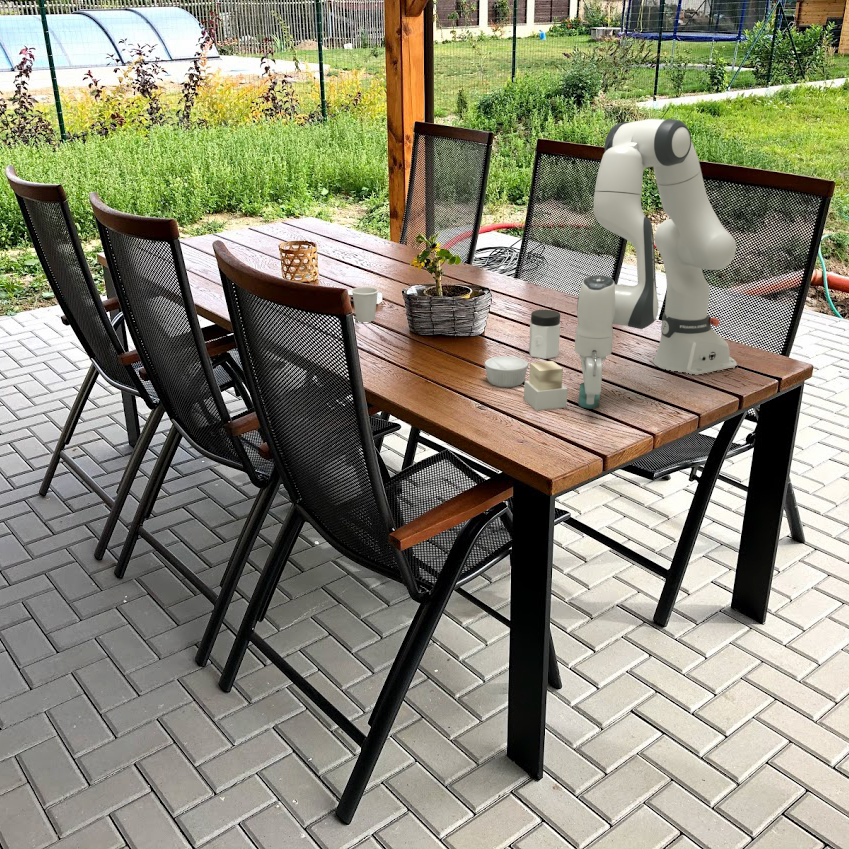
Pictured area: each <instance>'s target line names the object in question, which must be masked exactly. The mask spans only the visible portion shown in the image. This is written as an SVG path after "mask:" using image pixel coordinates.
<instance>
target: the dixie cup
mask: <svg viewBox="0 0 849 849" xmlns="http://www.w3.org/2000/svg"><path fill="white" fill-rule="evenodd" d="M351 293H352V298H353V306H354V313H355V320H356V319H357V320H356V322H357V321H359V322H371V321H374V320H375V321H376V310H377V302H378V301H377V300H378V293H379V289H377V288H376V287H371V286H361V287H358V286H357V287H355V288H352V289H351ZM375 321H374V322H375Z"/></svg>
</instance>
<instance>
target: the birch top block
mask: <svg viewBox="0 0 849 849" xmlns="http://www.w3.org/2000/svg"><path fill="white" fill-rule="evenodd" d="M563 371H564V368H563V367H561V366H560V365H559V364H557V363H556V362H555V361H554V360H548V361H539V362H530V363H529V375H528V376H529V377H528V378H529V379H528V380H529V383H531V384H532V385H533V386H534V387H535V388H536V389H538V390H539V391H540V390H549V389H558V388H562V384H563V375H564V374H563V373H564V372H563Z"/></svg>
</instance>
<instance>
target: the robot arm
mask: <svg viewBox="0 0 849 849" xmlns="http://www.w3.org/2000/svg"><path fill="white" fill-rule="evenodd" d="M651 167H653V171H654V172H653V173H654V176H655V182H656V185H657V186H656V187H657V191H658V194H659V198H660V203H661V207H662V209H663V212H664V213H665V214H666V215H667V216H668V217H669V218H668V219H665V220H664V221H662V222H661V223H660V224H659V225H658V227H657V229H656V231H655V233H654V228H653V225H652V221H651V219H650V218H648V217H647V216H645V213H644V210H643V207H642V193H643V184H644V183H643V182H644V180H643V177H644V176H643V174H644V171H645V169H646V168H651ZM593 193H594V194H593V215H594V217H595V219H596V221H597V222H598V224H600V226H602V227H603V228H604V229H605V230H608V231H609V232H611V233H613V234H615V235H617V236H619V237H621V238H623V239H624V240H626V241H628V242H629V243H630V244H631V245H632V246H633V247H634V250H635V252H636V270H637V284H636V285H625V284H616V283H615V281H614V279H613V278H611V277H610V276H607V275H603V274H602V275H601V274H599V275H598V274H595V275H590V276H587V277H586V278H584V279H583V280H582V282H581V285H580V286H581V287H580V290H579V293H578V297H577V304H576V306H577V307H576V316H577V317H576V318H577V325H576V326H577V327H576V329H575V340H574V352H575V353H576V354H578V356H579V359H580V360H581V361H580V362H581V369H582V370H581V371H582V377H583V383H584V387H585V393H586V394H587V397H586V403H587V404H594V397H595V395H598V394H600V395H601V392H602V383H603V382H602V381H603V362H604V361H606V360H607V358H606V357H607V356H610V355H611V354H612V352H613V339H614V329H613V325H617V326H626V327H628V328H634V329H639V330H643V329H645V328H647V327H649V326H651V325H652V324H653V323H654V322H655V321H656V320H657V318H658V317H657V316H658V314H659V300H658V299H659V298H658V295H657V292H658V291H657V283H656V282H657V281H656V258H655V257H656V252H655V247H656V249H657V250H658V252H659V255H660V257H661V258H662V259H661V260H662V262H663V266H664V267H663V268H664V271H665V273H664V274H665V278H666V294H665V296H666V297H665V307H664V312H663V314H662V319H661V326H660V327H661V335H660V340H659V344H658V348H657V350H656V354H655V356H654V359H653V362H652V363H653V365H655V366H657V367H658V368H660V369H662V370H665V369H666V371H669V370H671V371H670V372H674V371H678V372H677V373H682V372H686V373H685V374H688V373H689V374H688V375H692V374H695V375H694V376H699V375H698V374H702V373H706V372H711V371H716V370H721V369H726V368H731V367H735V366H737V367H738V364H737V361H736V360H735V359H734V358H733V357H731V356H730V347H729V344H728V342H727V341H726V340H725V339H724V338H723V337H722V336H720V335H719V334H718V333H717V332H715V330H713V329H712V326H714V327H718V326H719V325H720V319H719V318H716V317H711V316H710V315H708V309H709V301H710V293H711V287H710V285H709V283H708V281H707V280H706V279H705V278H706V277H705V275H704V273H703V270H707V271H708V270H709V271H720V270H723V269H725V268H726V267H728V266H729V265H730V264H731V262H733V260H734V257H735V255H736V252H737V244H736V240H735V238H734V236H733V235H732V234H730V232H728V230H727V229H726V228H725V227H724V226H723V224H722V223H721V221H720V219H719V218H718V215H717V214H716V212H715V211H714V208H713V206H712V204H711V203H710V200H709V197H708V194H707V191H706V187H705V182H704V178H703V173H702V168H701V164H700V161H699V158H698V154H697V152H696V149H695V146H694V144H693V142H692V134H691V131H690V130H689V127H688V126H687V125H686V124H685V123H684V122H683V121H680V120H678V119H674V118H673V119H672V118H668V119H662V118H661V119H660V118H649V119H648V118H646V119H642V120H635V121H631V122H630V121H625V122H620V123H618V124H615V125H613V126H612V127H611V128H610V129H609V131H608V133H607V135H606V137H605V140H604V153H603V154H602V158H601V160H600V164H599V167H598V172H597V176H596V182H595V186H594V192H593ZM702 375H703V374H702Z"/></svg>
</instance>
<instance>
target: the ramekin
mask: <svg viewBox="0 0 849 849" xmlns="http://www.w3.org/2000/svg"><path fill="white" fill-rule="evenodd" d="M484 368H485V372H486V378H487V381H488V382H489V384H491V385H493V386H496V387H499V388H501V387H502V388H512V387H518V386H520V385H522V384H524V383H525V381H526V375H527V371H528V368H529V362H528V361H527V360H526V359H524V358H521V357H518V356H511V355H509V356H507V355H500V356H493V357H490V358H488V359H487V360H485V361H484Z"/></svg>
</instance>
